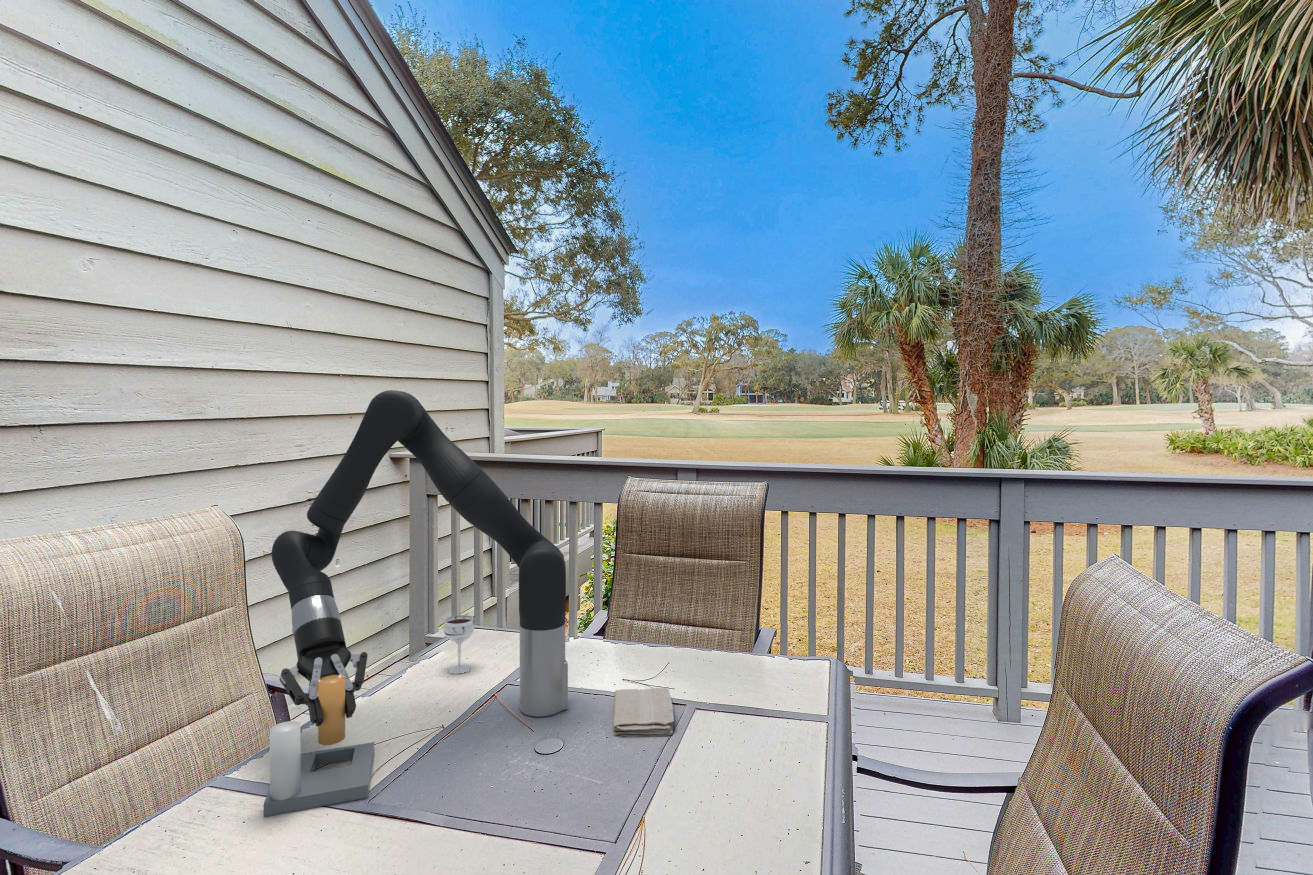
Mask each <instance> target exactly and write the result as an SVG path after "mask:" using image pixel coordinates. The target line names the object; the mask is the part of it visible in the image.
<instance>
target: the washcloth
mask: <svg viewBox="0 0 1313 875" xmlns="http://www.w3.org/2000/svg"><path fill="white" fill-rule="evenodd" d="M613 696H614V698H613V700H614V701H613V703H614V705H613V718H612V721H613V722H612V727H613V729H612V730H613V737H616V736H620V737H627V738H628V737H629V738H630V737H635V738H637V737H638V738H639V737H663V736H664V737H667V736H671V735H672V734H673V733H674V730H673V729H674V728H673V726H674V722H675V717H674V706H673V702H672V698H671V692H670V688H669V687H651V688H642V689H638V688H636V689H635V688H633V689H632V688H631V689H630V688H625V689H616V690H615V691H614V695H613Z"/></svg>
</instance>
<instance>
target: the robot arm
mask: <svg viewBox="0 0 1313 875" xmlns="http://www.w3.org/2000/svg"><path fill="white" fill-rule="evenodd" d="M365 410H366V411H365V413H364V415H363V417H362V419H361V422H360V423H359V426H358V428H357V431H356V433H355V435H354V437H353V439H352V441H351V443H350V444H349V447H348V448H347V450H346V452H345V454H344V455H343V457H342V458H341V460H340V462H339V463H338V465H337V466H336V468H335V469H334V471H333V472H332V474H331V475H330V477H329V478H328V479H327V481H326V483H325V484H324V485H323V487H322V488H321V489H320V491H319V493H318V494H317V496H316V497H315V499H314V500H313V502H312V503H311V505H310V507H309V508H308V509H307V512H306V518H307V521H309V522H310V523H311V524H312V525H314V526H315V527H317V528H318V530H317V532H316V534H311V533H308V532H303V531H298V530H288V531H284V532H282V533H281V534H279V535H278V536H277V537H276V539H275V541H274V542H273V544H272V547H271V561H272V564H273V566H274V569H275V571H276V573H277V574H278V576H279V578H280V580H281V582H282V583H283V586H284V587H285V589H286V591H287V592H288V598H289V603H290V604H289V605H290V610H291V626H292V630H291V631H292V634H293V638H294V644H295V645H294V646H295V650H296V656H297V662H296V665H295V666H293V667H291V668H283V669H282V670H281V672H280V676H279V681H280V683H281V684H282V687H283V688H284V690H285V691H286V693H287V694H288V696H289V697H290V699H291V701H292V702H293V704H294V705H295V706H300V705H305V706H307V708H308V714H309V720H310V723H311V724H313V725H314V724H315V727H317V728H318V726H320V725H321V724H322V722H323V717H322V712H321V706H320V701H319V699H318V681H319V680H320V679H322V678H324V677H327V676H331V675H343V676H345V719H349V718H352V717H353V714H354V713H355V712H356V708H357V703H356V699H355V694H354V693H355V692H358V691H360V690H361V688H362V685H363V684H364V682H365V674H366V670H367V661H368V653H367V652H366V651H363V652H361V653H359V654H357V653H356V654H355V653H352V652H351V651H350V650H349V648H348V647H347V644H346V638H345V634H344V630H343V625H342V620H341V615H340V611H339V607H338V605H337V603H336V599H335V596H334V590H333V585H332V581H331V579H330V576H329V575H328V574H326V573H324V572H323V570H324V569H326V568H327V567H328V566H329V565H330V564H331V563H332V562H333V559H334V558H335V555H336V551H337V548H338V546H339V542H340V539H341V536H342V532H343V530H344V527H345V524H346V523H347V522H348V520H349V519H350V518H351V516H352V515H353V513H354V511H355V510H356V508H357V507H358V505H359V504H360V502H361V501H362V499H363V497H364V495H365V493H366V492H367V489H368V487H369V484H370V482H371V480H372V478H373V476H374V473H375V472H376V470H377V468H378V466H379V465H380V463H381V462H382V460H383V459H384V457H385V456H386V454H388V451H390V449H391V448H392V447H393V446H394V445H395V444H396V443H397V442H398V443H400V444H401V445H402V446H403V447H404V448H405V449H406V450H407V451H409V453H411V454H412V456H414V457H415V458H416V459H417V461H418V462H419V463H420V464H421V466H422V467H423V469H424V470H425V471H426V473H427V474H428V476H429V479H430V480H431V482H432V483H433V485H434V487H435V489H436V490H437V491H438V492H439V494H441V496H442V498H444V500H445V501H446V502H447V503H448V504H449V506H451V507H452V508H453V509H454V510H455V511H456V512H457V513H458V514H459V515H460V516H461V517H462V518H463V519H464V520H466V522H468V523H469V524H470V525H471V526H472V527H474V528H475V529H477V530H479V531H480V532H482V534H485V535H486V536H488V537H490V538H491V539H492V540H493V541H494V542H496V543H497V544H498V545H499V546H500V547H501V548H502V549H503V550H504V551H505V552H506V553H507V555H508V556H509V557H510V558H511V559H512V561H513V562H514V563H515V565H516V566H517V567H518V615H519V616H518V617H519V710H520V712H521V713H522V714H524V715H526V716H529V717H537V718H538V717H547V716H548V717H549V716H552V715H556V714H558V713H560V712H562V711H566V710H568V709H569V707H568V706H569V705H568V704H569V702H568V701H569V697H568V696H569V686H568V685H569V672H568V671H569V663H568V661H567V659H566V615H567V614H566V613H567V569H566V568H567V567H566V560H565V557H564V554H563V552H562V551H561V550H560V548H559V547H557V545H555V544H554V543H553V542H551V541H550V540H549V539H548V538H547V537H546V536H544V535H543V534H542V533H541V532H539V531H538V530H537V529H536V528H535V527H534V526H533V525H531V524H530V523H529V521H527V519H526V518H525V517H524V516H523V515H522V514H521V513H520V512H519V510H518V509H517V508H516V506H515V505H514V504H513V502H512V501H511V500H510V499H509V497H508V496H507V495H506V494H505V493H504V492H503V490H502V489H501V488H500V487H499V486H498V484H497V483H496V482H495V481H494V480H493V479H492V478H491V477H490V476H489V475H488V474H487V473H486V472H485V471H484V470H483V469H482V468H481V467H480V466H479V465H478V464H477V463H476V462H475V461H474V460H473V459H472V458H471V457H470V456H469V455H468V454H467V453H466V452H465V451H463V450H462V449H461V448H460V447H459V446H458V445H456V444H455V442H453V441H452V440H451V439H449V437H448V436H447V435H446V434H445V433H444V432H443V431H442V429H440V427H439V425H438V424H437V423H436V422H435V421H434V419H433V418H432V417H431V416H430V414H429V413H428V412H427V410H426V409H425V408H424V406H423V405H422V404H421V402H420V401H419V400H418V398H416V397H415V396H414V395H412V394H410V393H409V392H406V391H401V390H393V389H391V390H390V389H389V390H384V391H382V392H379V393H378V394H376V395H375V396H373V398H372V399H370V402H369V404H368V406H367V408H366V409H365ZM350 662H351V663H352V667H353V668H355V674H354V681H353V682H352V681H351V679H350V678H349V673H348V671H347V669H346V668H347V666H348V664H349V663H350ZM298 674H299V675H301V676H302V677H303V678H305V679H306V680H307V681H308V682H309V683H308V689H307V690H308V691H307V692H304V690H303V688H302V687H301V686H300V685H299V683H298V681H297V678H298Z"/></svg>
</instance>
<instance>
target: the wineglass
mask: <svg viewBox="0 0 1313 875" xmlns="http://www.w3.org/2000/svg"><path fill="white" fill-rule="evenodd" d="M473 621H474V617H473V616H472V615H468V614H466V615H464V614H463V615H461V614H460V615H452V616H450V617H447V618H445V619H444V623H445V625H444V628H443V632H444V635H445V637H446V638H447V639H448V640H450V641H451V642H454V643H455V644H456V645H457V660H458V662H457V663H458V667H457V666H454V667H452V669H451V668H450V669H448V671H449V672H450V673H455V674H454V675H460V674H459V673H463V674H465V673H464V672H466V673H468V672H469V671H468V670H469V668H470V667H469V666H467V667H465V665H461V657H462V656H461V655H462V653H461V652H462V643H464V641H467V640H468V639H469V638H470V637H471V636H472V635H473V633H474V630H475V624H474V623H473ZM468 667H469V668H468ZM467 671H468V672H467ZM449 672H448V673H449ZM450 673H449V674H450ZM457 673H458V674H457Z"/></svg>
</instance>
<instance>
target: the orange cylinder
mask: <svg viewBox="0 0 1313 875" xmlns="http://www.w3.org/2000/svg"><path fill="white" fill-rule="evenodd" d="M317 699H319V701H320V706H321V712H322V717H323V722H322V724H321V725H320V726H317V730H318V731H317V732H318V733H317V743H318V744H319V745H321V746H331V745H333V746H334V745H336V744H338V743H339V744H340V743H341V742H342V741H344V740H345V739H346V714H345V676H343V675H331V676H327V677H324V678H322V679H320V680H319V681H318V695H317Z"/></svg>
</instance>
